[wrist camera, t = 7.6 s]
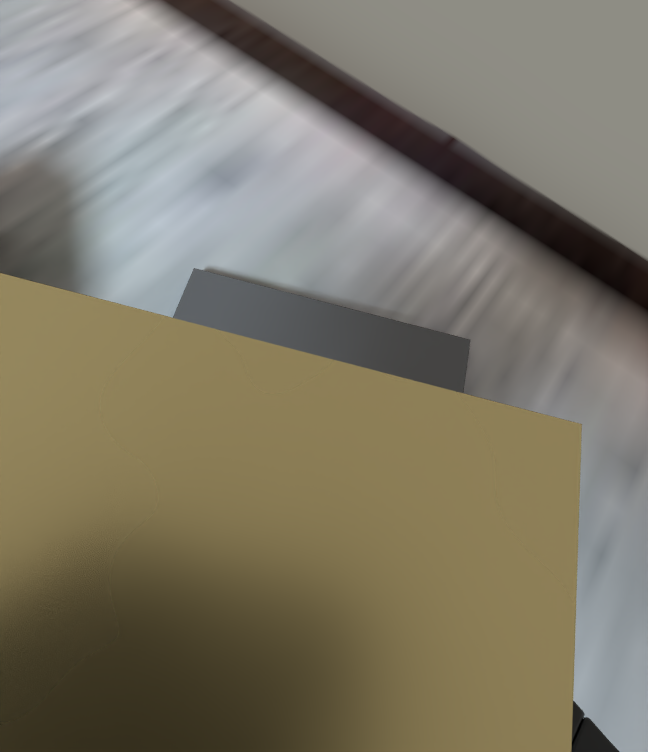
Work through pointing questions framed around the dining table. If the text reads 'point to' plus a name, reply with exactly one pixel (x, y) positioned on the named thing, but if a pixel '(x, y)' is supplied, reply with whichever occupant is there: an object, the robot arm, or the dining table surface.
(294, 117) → the dining table surface
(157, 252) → the dining table surface
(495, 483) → the tan wood-grain block
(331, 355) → the rubber mat
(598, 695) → the dining table surface
